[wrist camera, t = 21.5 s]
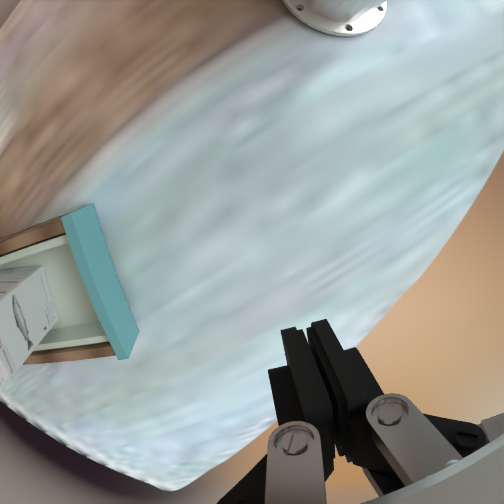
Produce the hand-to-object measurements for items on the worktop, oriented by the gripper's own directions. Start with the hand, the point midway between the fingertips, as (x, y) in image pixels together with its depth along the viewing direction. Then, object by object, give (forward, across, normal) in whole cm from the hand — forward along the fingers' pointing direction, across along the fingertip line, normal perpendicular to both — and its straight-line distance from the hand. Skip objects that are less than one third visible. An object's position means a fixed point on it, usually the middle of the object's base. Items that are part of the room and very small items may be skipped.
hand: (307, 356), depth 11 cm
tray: (+22, +25, +2) cm, 34 cm away
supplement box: (+21, +28, +2) cm, 36 cm away
